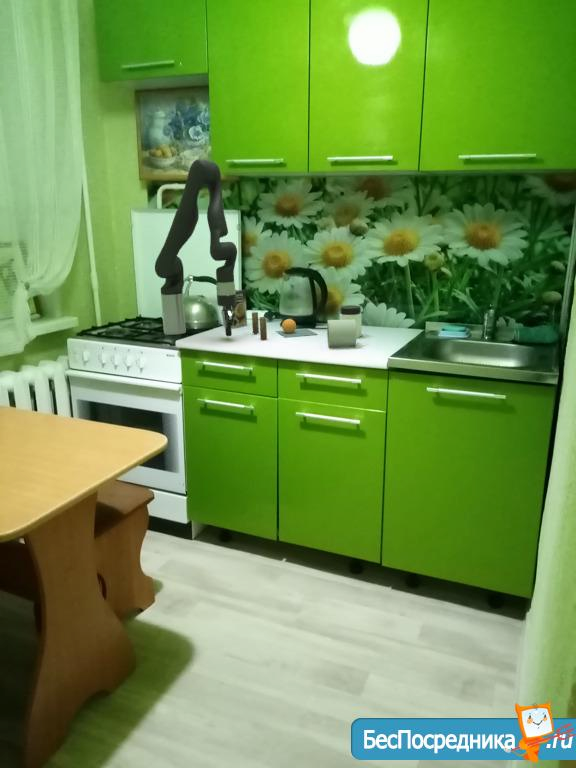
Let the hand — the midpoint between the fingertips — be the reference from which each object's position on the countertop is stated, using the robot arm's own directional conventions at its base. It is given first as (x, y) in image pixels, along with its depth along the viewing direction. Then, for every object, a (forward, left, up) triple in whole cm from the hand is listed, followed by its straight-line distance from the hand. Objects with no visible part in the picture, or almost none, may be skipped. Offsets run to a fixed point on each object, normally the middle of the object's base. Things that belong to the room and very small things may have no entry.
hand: (228, 335), depth 242 cm
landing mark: (+29, 0, -2) cm, 29 cm away
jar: (+47, -16, -2) cm, 50 cm away
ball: (+26, +1, +2) cm, 26 cm away
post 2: (+13, -6, -2) cm, 15 cm away
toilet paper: (+37, -31, -2) cm, 48 cm away
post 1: (+13, +7, -2) cm, 15 cm away
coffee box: (+9, +28, -2) cm, 29 cm away
